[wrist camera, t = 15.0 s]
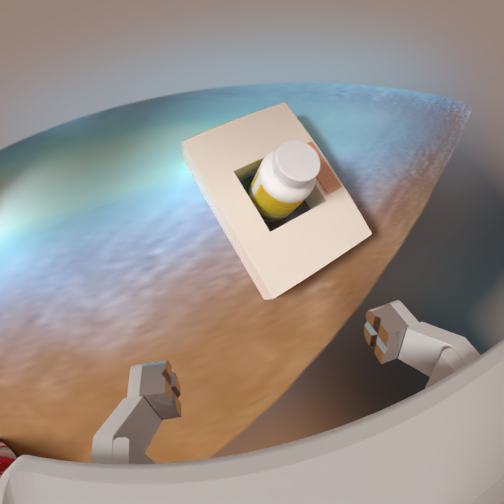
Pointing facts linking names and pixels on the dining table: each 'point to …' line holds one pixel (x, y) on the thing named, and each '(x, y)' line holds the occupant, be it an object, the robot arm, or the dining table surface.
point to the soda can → (5, 458)
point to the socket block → (246, 215)
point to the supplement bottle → (284, 180)
